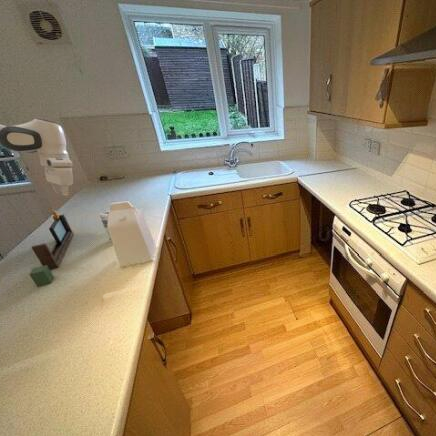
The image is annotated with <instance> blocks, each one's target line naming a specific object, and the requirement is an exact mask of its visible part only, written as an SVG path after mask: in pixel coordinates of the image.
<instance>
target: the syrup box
mask: <svg viewBox="0 0 436 436" xmlns="http://www.w3.org/2000/svg"><path fill="white" fill-rule="evenodd" d="M109 212H110V209H108V210H105V211H103V212H101V213H99V217H100V220H101V222H102V225H103V228H104V230H105V233H106V235H107V237H108V240H109V241H110V242H112V241H111V238H110V235H109V232H108V228H107V224H108V217H109Z"/></svg>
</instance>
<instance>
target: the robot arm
mask: <svg viewBox="0 0 436 436" xmlns="http://www.w3.org/2000/svg"><path fill="white" fill-rule="evenodd" d="M0 144H1V145H3V147H5V148H7V149H8V150H11V151H13V152H18V153H30V154H32V153H38V157H39V163H40V166H43V167H44V174H45V179H46V181H47V183H51V186H52V188H53V192H54V193H55V194H61V196H64V197H67V196H69V195H70V194H69V189H70V187H69V186H73V184H74V176H73V169H72V168H73V167H74V164H73V161H72V160H71V159H70V155H69V152H68V151H67V140H66V135H65V132H64V129H63V127H62V126H61V125H60V124H59V123H57V122H55V121H51V120H48V119H43V118H34V119H32V120H30V121H28V122H24V123H21V124H15V125H4V124H1V123H0Z"/></svg>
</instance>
